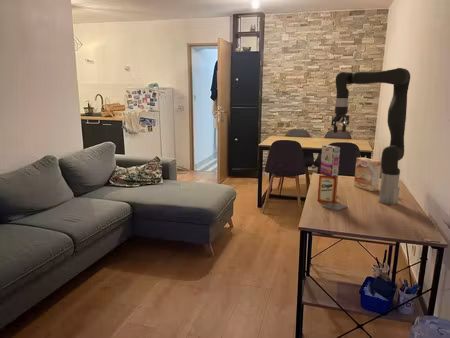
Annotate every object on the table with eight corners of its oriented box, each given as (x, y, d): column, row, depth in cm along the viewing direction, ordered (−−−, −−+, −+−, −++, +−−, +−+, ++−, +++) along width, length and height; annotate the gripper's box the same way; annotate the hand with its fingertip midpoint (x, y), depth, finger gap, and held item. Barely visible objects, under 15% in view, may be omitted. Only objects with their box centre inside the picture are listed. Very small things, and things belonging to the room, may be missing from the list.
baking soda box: (317, 201, 205) (319, 174, 202) (319, 198, 211) (321, 172, 208) (334, 203, 201) (336, 176, 198) (336, 200, 207) (338, 174, 204)
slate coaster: (347, 207, 195) (347, 205, 195) (339, 211, 188) (339, 209, 188) (330, 203, 202) (330, 201, 201) (322, 207, 195) (322, 205, 194)
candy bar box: (338, 176, 198) (341, 147, 195) (331, 176, 197) (333, 147, 193) (326, 172, 209) (328, 144, 205) (319, 172, 207) (321, 145, 204)
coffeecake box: (353, 185, 241) (355, 157, 237) (361, 184, 244) (363, 157, 240) (370, 191, 228) (373, 161, 224) (378, 190, 231) (381, 160, 227)
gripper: (339, 106, 208) (337, 133, 211) (353, 106, 216) (351, 132, 219) (329, 105, 214) (327, 132, 217) (343, 105, 222) (341, 131, 225)
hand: (339, 132), depth 218 cm, fingers open, 8 cm apart
